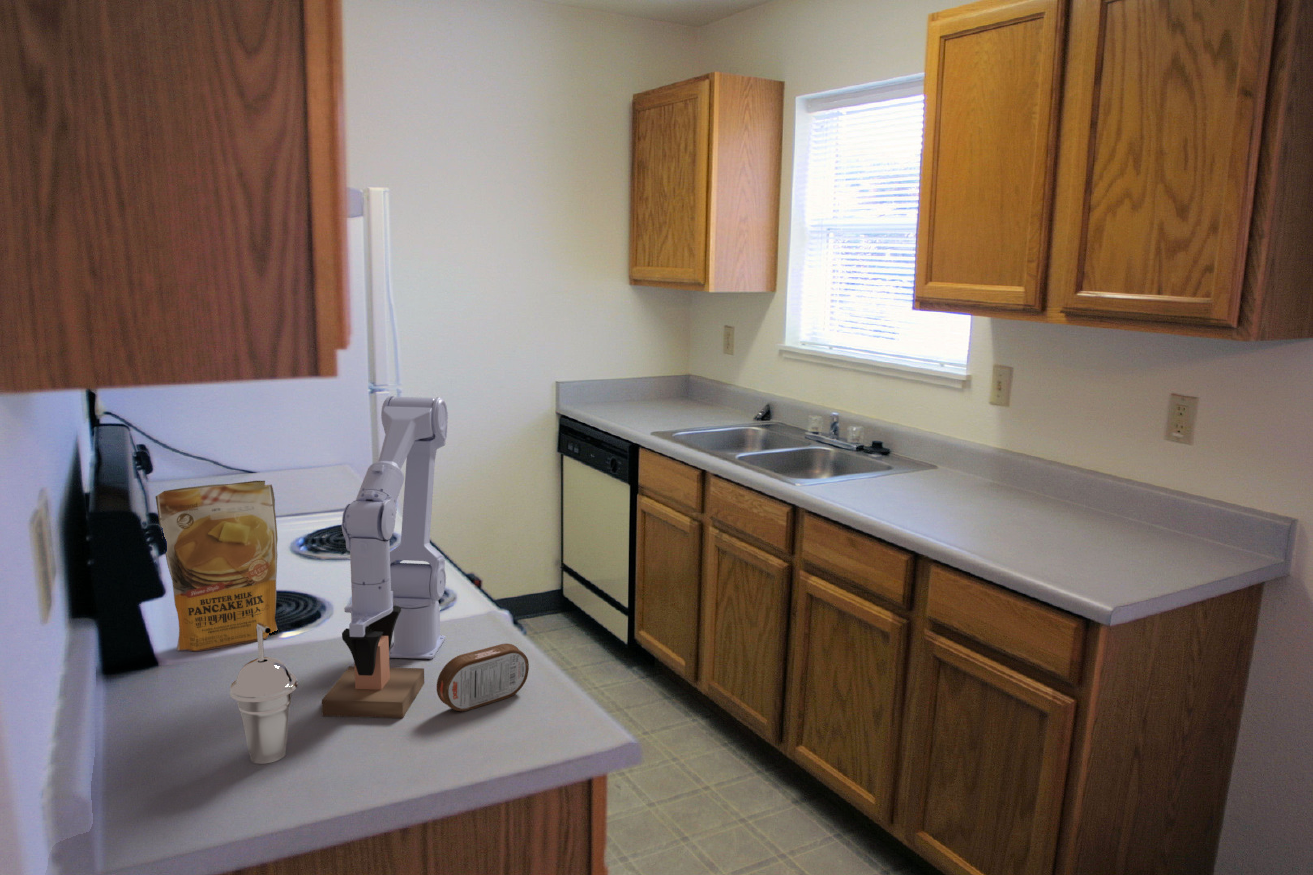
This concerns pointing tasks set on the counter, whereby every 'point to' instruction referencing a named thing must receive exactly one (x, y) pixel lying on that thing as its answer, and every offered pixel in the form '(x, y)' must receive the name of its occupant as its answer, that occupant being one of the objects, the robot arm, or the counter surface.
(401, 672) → the walnut base
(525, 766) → the counter surface
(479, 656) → the tin
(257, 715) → the cup with straw
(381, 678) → the terracotta block
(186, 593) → the pancake mix bag
